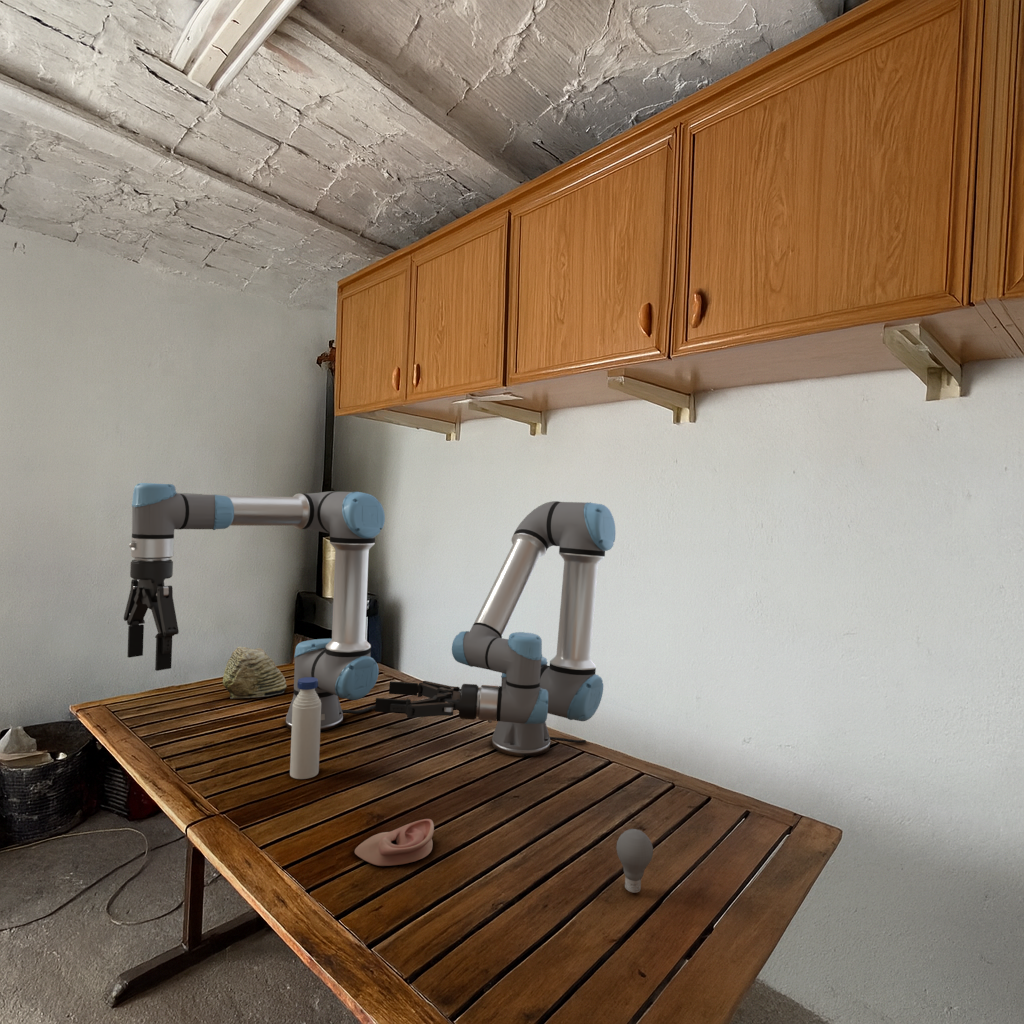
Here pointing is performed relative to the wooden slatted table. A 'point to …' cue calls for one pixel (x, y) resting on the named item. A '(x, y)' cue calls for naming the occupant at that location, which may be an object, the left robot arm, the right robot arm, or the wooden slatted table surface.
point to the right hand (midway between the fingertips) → (382, 695)
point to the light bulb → (634, 857)
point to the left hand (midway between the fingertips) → (148, 662)
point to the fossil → (252, 674)
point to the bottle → (305, 735)
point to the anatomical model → (398, 844)
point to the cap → (307, 683)
